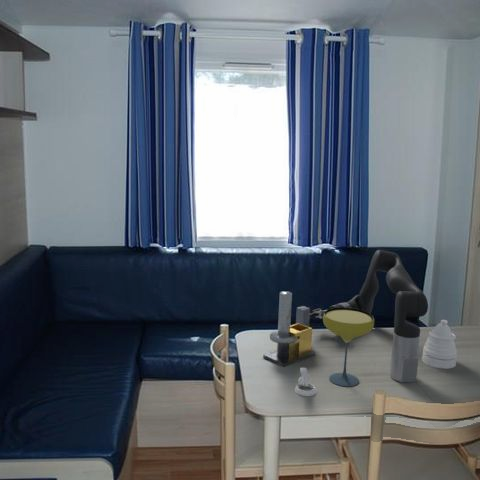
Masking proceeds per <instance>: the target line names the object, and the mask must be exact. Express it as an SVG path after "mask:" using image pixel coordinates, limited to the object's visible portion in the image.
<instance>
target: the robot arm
mask: <svg viewBox="0 0 480 480" xmlns="http://www.w3.org/2000/svg"><path fill="white" fill-rule="evenodd" d="M377 271H378V272H383V273H387V274H386V276H385V282H386V285H387V286H388V288H389V289H390V291H391V292H392V293H393V294H395V300H394V301H395V302H394V320H393V323H394V325H393V326H394V327H393V336H392V347H391V348H392V349H391V360H390V369H389V377H390V378H391V379H393V380H395V381H398V382H400V383H403V384H405V383H414V382H415V383H416V382H417V377H418V366H419V357H418V355H419V347H420V346H419V345H420V335H421V328H420V326H418V325H417V324H415V323H412V322H410V321H408V320H407V319H406V317H407V318H413V317H414V318H420V317H424V316H425V315H426V314H427V313H428V309H429V304H428V303H429V302H428V299H427V296H426V295H425V293H424V292H423V291H422V289H420V288H419V287H418V286H417V285H416V284H415V282H414V281H413V279H412V277H411V276H410V274H409V273H408V272H407V271H406V269H405V267H404V265H403V263H402V259H401V257H400V256H399V254H397V253H396V252H393V251H388V250H384V249H378V250H376V251H375V252H374V254H373V256H372V258H371V261H370V265H369V267H368V271H367V274H366V277H365V281H364V282H363V285H362V287H361V289H360V290H359V294H356V295H354V297H352V299H351V298H350V300H348V301H346V302H345V301H344V302H340V303H336V304H334V305H333V304H332V305H331V306H329V307H328V309H324V310H323V309H322V307H319V308H315V309H313V310H311V312H310V318H309V320H312V319H315V318H319V319H323V315H324V312H325V311H326V310H329V309H332V308H353V309H359V310H363V311H366V312H368V313H370V314H371V313H372V310H373V308H374V302H375V297H376V295H377V293H378V291H379V289H380V284H379V280H378V278H377Z"/></svg>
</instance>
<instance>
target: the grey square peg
mask: <svg viewBox="0 0 480 480" xmlns="http://www.w3.org/2000/svg"><path fill="white" fill-rule="evenodd" d="M295 314H296V315H295V324H297V323H300V324H302V325H305V326H308V327H310V314H311V308H310V307H307V306H305V305H302V306H298V307H296V313H295Z"/></svg>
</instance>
